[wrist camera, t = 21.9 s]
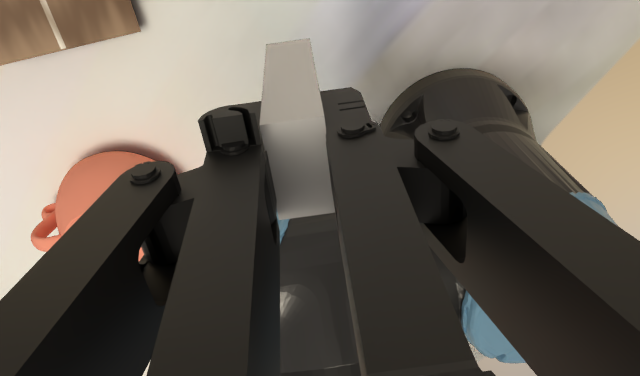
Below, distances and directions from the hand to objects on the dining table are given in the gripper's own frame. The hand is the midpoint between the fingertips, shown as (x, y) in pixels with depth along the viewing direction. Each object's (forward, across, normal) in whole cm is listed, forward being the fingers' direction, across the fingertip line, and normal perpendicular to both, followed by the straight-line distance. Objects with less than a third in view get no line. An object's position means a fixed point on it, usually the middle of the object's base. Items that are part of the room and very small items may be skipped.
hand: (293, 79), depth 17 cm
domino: (+26, -13, 0) cm, 29 cm away
